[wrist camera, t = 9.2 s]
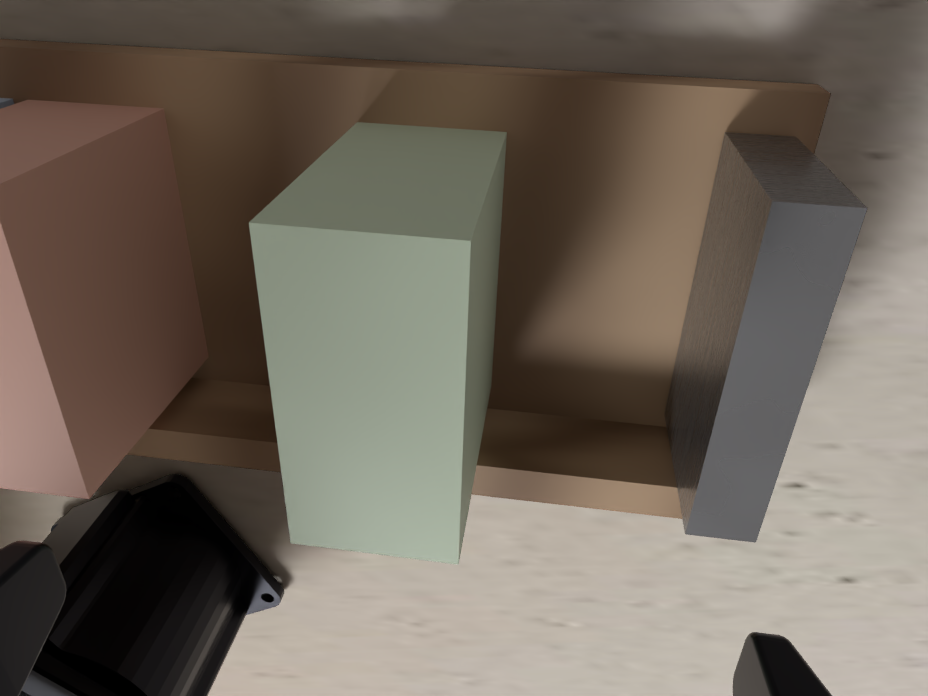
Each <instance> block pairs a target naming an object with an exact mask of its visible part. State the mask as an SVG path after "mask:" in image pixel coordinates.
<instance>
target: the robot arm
mask: <svg viewBox="0 0 928 696" xmlns="http://www.w3.org/2000/svg"><path fill="white" fill-rule="evenodd" d="M176 488H177V489H178V490H177V489H176ZM283 595H284V589H283V588H282V586H281V585H280V584H279V583H278V581H277V580H276V579H275V578H274V577H273V576H272V574H271V573H270V572H269V571H268V570H267V569H266V568H265V566H264V565H263V564H262V563H261V562H260V561H259V559H258V558H257V557H256V556H255V555H254V554H253V553H252V551H251V550H250V549H249V548H248V547H247V546H246V545H245V543H244V542H243V541H242V540H241V539H240V538H239V536H238V535H237V534H236V533H235V532H234V531H233V530H232V528H231V527H230V526H229V525H228V524H227V523H226V522H225V520H224V519H223V518H222V517H221V516H220V515H219V513H218V512H217V511H216V510H215V509H214V508H213V507H212V505H211V504H210V503H209V502H208V501H207V500H206V498H205V497H204V496H203V495H202V494H201V493H200V492H199V490H198V489H197V488H196V487H195V486H194V485H193V484H192V482H191V481H190V480H189V479H187V478H186V477H184V476H182V475H179V474H172V475H168V476H166V477H163V478H161V479H158V480H156V481H153V482H150V483H148V484H145V485H143V486H140V487H138V488H135V489H132V490H130V491H128V490H117V491H114V492H112V493H109V494H107V495H104V496H102V497H99V498H97V499H94V500H92V501H89V502H86V503H84V504H81V505H79V506H76V507H74V508H72V509H71V510H70V511H69V512H68V513H67V514H66V515H65V516H63V517H61V518H60V519H58V521H57V522H56V523H55V524H54V525H53V526H52V528H51V533H50V534H49V535H48V536H47V538H46V539H45V540H44V541H43V542H42V543H37V542H29V541H17V542H14V543H11V544H9V545H7V546H6V547H4V548H2V549H0V696H208V693H209V691H210V689H211V687H212V685H213V683H214V681H215V679H216V677H217V674H218V672H219V670H220V668H221V666H222V664H223V662H224V660H225V658H226V656H227V653H228V651H229V649H230V647H231V645H232V643H233V641H234V639H235V637H236V635H237V632H238V630H239V628H240V626H241V624H242V622H243V620H244V618H245V616H246V615H247V614H251V613H254V612H258V611H261V610H265V609H268V608H272V607H275V606H277V605H279V603H280V602H281V599H282V597H283ZM733 696H832V695H831V694H830V693H829V691H828V690H827V689H826V687H825V686H824V685H823V683H822V682H821V681H820V680H819V678H818V677H817V676H816V674H815V673H814V672H813V671H812V669H811V668H810V667H809V665H808V664H807V663H806V661H805V660H804V659H803V658H802V656H801V655H800V654H799V652H798V651H797V650H796V649H795V647H794V646H793V645H792V643H791V642H790V641H789V640H788V639H786V638H785V637H783V636H780V635H774V634H766V633H758V632H753V633H750V634H749V635H748V636H747V638H746V640H745V643H744V646H743V649H742V652H741V655H740V658H739V661H738V664H737V667H736V669H735V673H734V678H733Z"/></svg>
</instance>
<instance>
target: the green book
mask: <svg viewBox="0 0 928 696" xmlns="http://www.w3.org/2000/svg"><path fill="white" fill-rule="evenodd" d="M506 138H507V132H498V131H483V130H468V129H453V128H438V127H423V126H408V125H393V124H378V123H363V122H357V123H356V124H355V125H354V126H352V127H351V128H350V129H349V130H348V131H347V132H346V133H345V134H344V135H343V136H342V137H341V138H340V139H338V140H337V141H336V142H335V143H334V144H333V145H332V146H331V147H330V148H329V149H328V150H327V151H326V152H324V153H323V154H322V155H321V156H320V157H319V158H318V159H317V160H316V161H315V162H314V163H313V164H311V165H310V166H309V167H308V168H307V169H306V170H305V171H304V172H303V173H302V174H301V175H300V176H299V177H297V178H296V179H295V180H294V181H293V182H292V183H291V184H290V185H289V186H288V187H287V188H286V189H285V190H283V191H282V192H281V193H280V194H279V195H278V196H277V197H276V198H275V199H274V200H273V201H272V202H271V203H269V204H268V205H267V206H266V207H265V208H264V209H263V210H262V211H261V212H260V213H259V214H258V215H256V216H255V217H254V218H253V219H252V220H251V221H250V222H249V229H250V236H251V244H252V252H253V259H254V267H255V275H256V282H257V290H258V298H259V305H260V313H261V321H262V328H263V336H264V344H265V351H266V359H267V366H268V374H269V382H270V389H271V397H272V405H273V412H274V420H275V428H276V435H277V443H278V451H279V458H280V466H281V474H282V481H283V489H284V497H285V504H286V512H287V520H288V527H289V535H290V543H293V544H300V545H308V546H316V547H324V548H332V549H340V550H348V551H356V552H363V553H371V554H379V555H387V556H395V557H403V558H411V559H418V560H426V561H434V562H442V563H450V564H459V558H460V553H461V547H462V542H463V537H464V531H465V526H466V520H467V515H468V509H469V504H470V499H471V493H472V488H473V482H474V477H475V471H476V466H477V461H478V455H479V450H480V444H481V439H482V433H483V428H484V423H485V417H486V412H487V406H488V401H489V396H490V390H491V382H492V366H493V349H494V333H495V317H496V300H497V284H498V268H499V252H500V235H501V219H502V203H503V186H504V170H505V154H506Z"/></svg>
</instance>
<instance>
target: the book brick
mask: <svg viewBox="0 0 928 696" xmlns="http://www.w3.org/2000/svg"><path fill="white" fill-rule="evenodd" d="M208 357H209V355H208V349H207V344H206V338H205V333H204V327H203V322H202V316H201V311H200V305H199V300H198V294H197V289H196V283H195V278H194V272H193V266H192V261H191V255H190V250H189V244H188V239H187V233H186V228H185V222H184V217H183V211H182V206H181V200H180V195H179V189H178V184H177V178H176V173H175V167H174V162H173V156H172V151H171V145H170V139H169V134H168V128H167V123H166V117H165V112H164V108H149V107H134V106H118V105H103V104H87V103H72V102H56V101H41V100H25V101H22V102H19V103H16V104H13V105H10V106H7V107H4V108H1V109H0V488H3V489H11V490H19V491H27V492H35V493H43V494H52V495H60V496H68V497H76V498H84V499H90V498H91V496H92V495H93V494H94V493H95V492H96V491H97V489H98V488H99V487H100V486H101V485H102V483H103V482H104V481H105V480H106V479H107V477H108V476H109V475H110V474H111V473H112V471H113V470H114V469H115V468H116V467H117V466H118V464H119V463H120V462H121V461H122V460H123V458H124V457H125V456H126V455H127V454H128V452H129V451H130V450H131V449H132V448H133V446H134V445H135V444H136V443H137V442H138V441H139V439H140V438H141V437H142V436H143V435H144V433H145V432H146V431H147V430H148V429H149V427H150V426H151V425H152V424H153V423H154V421H155V420H156V419H157V418H158V417H159V416H160V414H161V413H162V412H163V411H164V410H165V408H166V407H167V406H168V405H169V404H170V402H171V401H172V400H173V399H174V398H175V396H176V395H177V394H178V393H179V392H180V391H181V389H182V388H183V387H184V386H185V385H186V383H187V382H188V381H189V380H190V379H191V377H192V376H193V375H194V374H195V373H196V371H197V370H198V369H199V368H200V367H201V366H202V364H203V363H204V362H205V361H206V360H207V358H208Z"/></svg>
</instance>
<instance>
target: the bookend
mask: <svg viewBox="0 0 928 696" xmlns="http://www.w3.org/2000/svg"><path fill="white" fill-rule="evenodd" d="M866 211H867V207H866V206H865V205H864V204H863V203H862V202H861V201H860V200H859V199H858V198H857V197H856V196H855V195H854V194H853V193H852V192H851V191H850V190H849V189H848V188H847V187H846V186H845V185H844V184H843V183H842V182H841V181H840V180H839V179H838V178H837V177H836V176H835V175H834V174H833V173H832V172H831V171H830V170H829V169H828V168H827V167H826V166H825V165H824V164H823V163H822V162H821V161H820V160H819V159H818V158H817V157H816V156H815V155H814V154H813V153H812V152H811V151H810V150H809V149H808V148H807V147H806V146H805V145H804V144H803V143H802V142H801V141H800V140H799V139H798V138H797V137H794V136H778V135H762V134H746V133H730V132H725V133H724V138H723V142H722V147H721V152H720V156H719V161H718V166H717V170H716V175H715V180H714V184H713V189H712V194H711V198H710V203H709V208H708V212H707V217H706V222H705V226H704V231H703V236H702V240H701V245H700V250H699V254H698V259H697V264H696V268H695V273H694V278H693V282H692V287H691V291H690V296H689V301H688V305H687V310H686V315H685V319H684V324H683V329H682V333H681V338H680V343H679V347H678V352H677V357H676V361H675V366H674V371H673V375H672V380H671V385H670V389H669V394H668V399H667V403H666V408H665V413H664V415H665V421H666V427H667V432H668V438H669V444H670V450H671V455H672V461H673V467H674V473H675V478H676V484H677V490H678V495H679V501H680V507H681V513H682V518H683V524H684V530H685V534H688V535H697V536H705V537H714V538H722V539H731V540H739V541H748V542H756V540H757V537H758V534H759V531H760V528H761V525H762V522H763V519H764V516H765V513H766V510H767V507H768V504H769V501H770V498H771V495H772V492H773V489H774V486H775V483H776V480H777V477H778V474H779V471H780V468H781V465H782V462H783V459H784V456H785V453H786V450H787V447H788V444H789V441H790V438H791V435H792V432H793V429H794V426H795V423H796V420H797V417H798V414H799V411H800V408H801V405H802V402H803V399H804V396H805V393H806V390H807V387H808V384H809V381H810V378H811V375H812V373H813V370H814V367H815V364H816V361H817V358H818V355H819V352H820V349H821V346H822V343H823V340H824V337H825V334H826V331H827V328H828V325H829V322H830V319H831V316H832V313H833V310H834V307H835V304H836V301H837V298H838V295H839V292H840V289H841V286H842V283H843V280H844V277H845V274H846V271H847V268H848V265H849V262H850V259H851V256H852V253H853V250H854V247H855V244H856V241H857V238H858V235H859V232H860V229H861V226H862V223H863V220H864V217H865V214H866Z"/></svg>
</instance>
